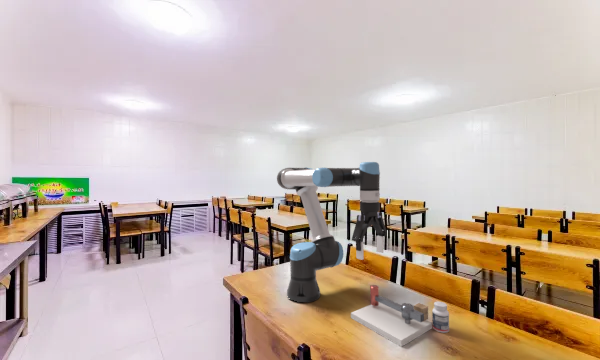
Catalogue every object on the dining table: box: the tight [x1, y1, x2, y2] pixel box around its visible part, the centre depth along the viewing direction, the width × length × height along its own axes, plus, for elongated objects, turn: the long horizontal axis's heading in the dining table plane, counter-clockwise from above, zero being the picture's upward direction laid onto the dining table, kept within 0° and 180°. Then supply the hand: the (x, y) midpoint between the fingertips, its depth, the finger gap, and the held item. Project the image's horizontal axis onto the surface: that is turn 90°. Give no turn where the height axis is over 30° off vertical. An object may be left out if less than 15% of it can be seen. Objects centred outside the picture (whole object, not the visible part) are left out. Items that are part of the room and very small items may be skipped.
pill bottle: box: [431, 301, 450, 334], centre depth 96 cm, size 5×5×9 cm
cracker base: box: [350, 302, 433, 347], centre depth 100 cm, size 22×18×4 cm
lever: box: [369, 284, 424, 323], centre depth 101 cm, size 22×4×7 cm, turn 34°
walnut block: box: [413, 302, 429, 321], centre depth 99 cm, size 4×4×4 cm
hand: (370, 255), depth 107 cm, fingers open, 13 cm apart
